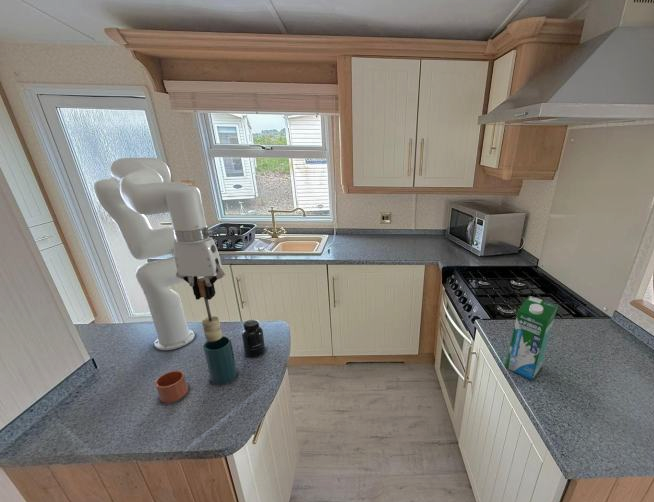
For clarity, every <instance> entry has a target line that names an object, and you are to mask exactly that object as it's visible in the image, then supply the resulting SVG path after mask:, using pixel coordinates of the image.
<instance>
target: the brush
mask: <svg viewBox="0 0 654 502" xmlns="http://www.w3.org/2000/svg"><path fill="white" fill-rule="evenodd" d="M197 284H198V288H199V293H200V297H201V298H203V300H204V303H205V309H206V314H207V317H206V318H203V320H202V321H201V324H202V328H203V332H204V337H205V340H206V341H209V342H213V341H217V340H219V339H221V338H222V336H223V331H222V327H221V321H220V318H219V316H214V315H213V316H212V313H211V307H210V302H209V300H208V299H207V296H206V292H205V287H206V283H205V279H204V277H200V278H199V279H197Z"/></svg>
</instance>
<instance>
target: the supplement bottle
mask: <svg viewBox="0 0 654 502" xmlns="http://www.w3.org/2000/svg"><path fill="white" fill-rule="evenodd" d="M241 339H242V345H243V352H244V355H245V356H247V357H250V358H255V357H258V356H260V355H262V354H264V352H265V350H266V347H265V339H264V330H263V328H262V327H261V326H260V323H259V320H257V319H248V320H246V321H245V322H244V323H243V329H242V332H241Z"/></svg>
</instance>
